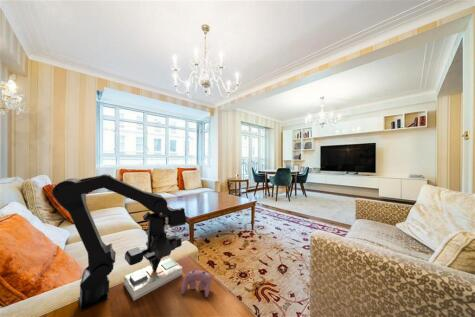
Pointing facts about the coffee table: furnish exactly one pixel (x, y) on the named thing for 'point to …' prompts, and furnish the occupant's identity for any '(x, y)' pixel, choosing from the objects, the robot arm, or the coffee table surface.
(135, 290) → the pad
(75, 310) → the coffee table surface
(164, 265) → the sage key
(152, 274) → the terracotta key
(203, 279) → the video game controller
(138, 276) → the charcoal key
